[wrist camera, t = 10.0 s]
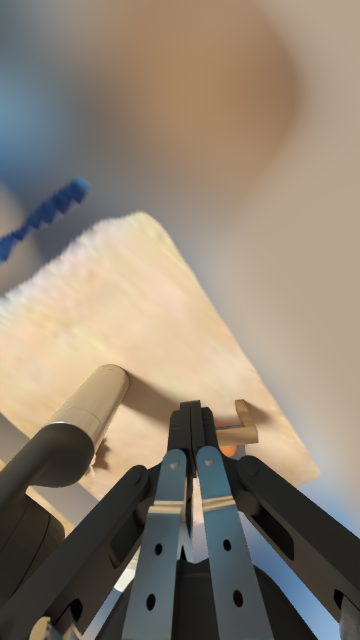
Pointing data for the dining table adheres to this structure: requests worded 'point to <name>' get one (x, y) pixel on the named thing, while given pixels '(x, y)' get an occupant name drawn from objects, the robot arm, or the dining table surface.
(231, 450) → the ball
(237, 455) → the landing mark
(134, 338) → the dining table surface
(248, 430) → the bridge
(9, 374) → the dining table surface
